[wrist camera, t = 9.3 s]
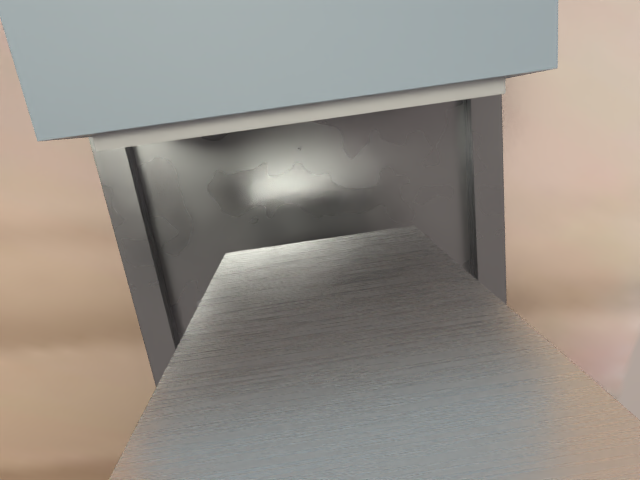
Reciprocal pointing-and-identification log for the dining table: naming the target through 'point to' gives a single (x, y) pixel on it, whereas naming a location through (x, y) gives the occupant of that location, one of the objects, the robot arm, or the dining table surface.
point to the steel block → (371, 377)
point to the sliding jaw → (260, 61)
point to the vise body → (302, 199)
